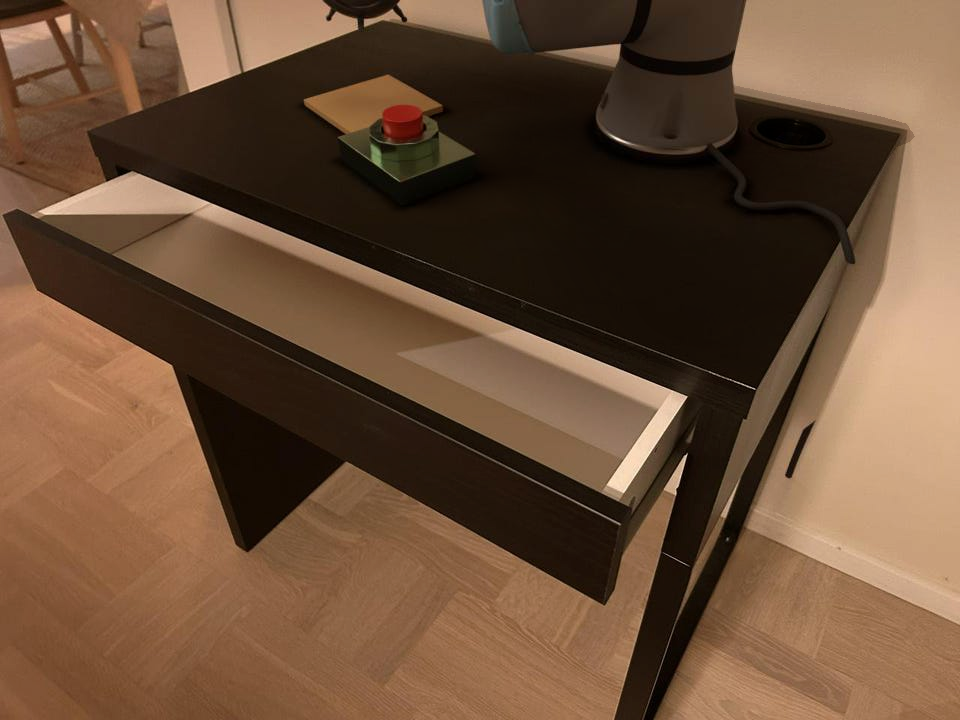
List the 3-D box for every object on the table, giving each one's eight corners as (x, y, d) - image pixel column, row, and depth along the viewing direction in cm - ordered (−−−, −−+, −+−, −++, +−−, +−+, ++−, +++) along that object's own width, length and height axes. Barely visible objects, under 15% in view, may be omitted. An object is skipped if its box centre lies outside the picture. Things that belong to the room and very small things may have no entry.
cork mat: (443, 111, 88) (442, 105, 88) (355, 141, 83) (354, 134, 82) (389, 80, 95) (388, 74, 95) (304, 105, 90) (303, 99, 90)
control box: (476, 177, 76) (475, 136, 73) (402, 206, 73) (398, 164, 69) (411, 136, 84) (408, 97, 81) (341, 160, 80) (334, 120, 77)
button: (431, 133, 75) (430, 114, 74) (397, 145, 73) (396, 125, 72) (409, 120, 77) (408, 100, 76) (376, 131, 76) (374, 111, 74)
